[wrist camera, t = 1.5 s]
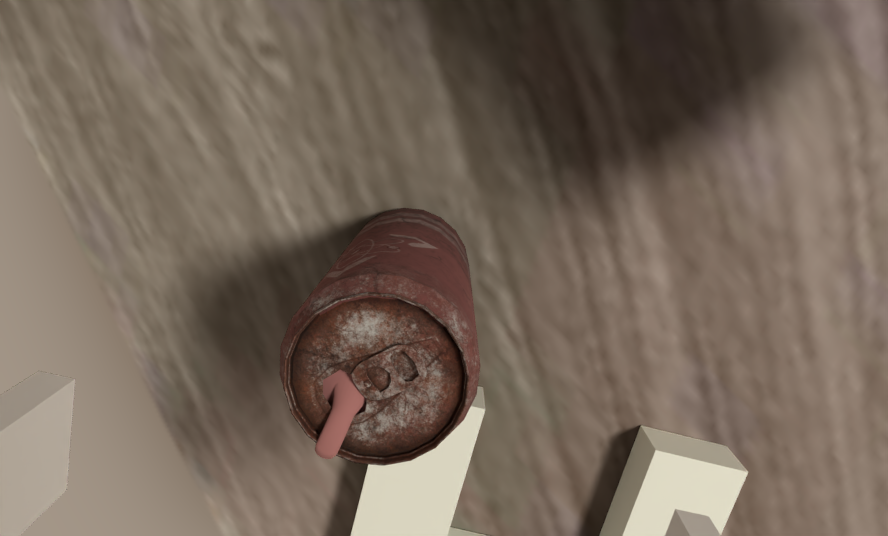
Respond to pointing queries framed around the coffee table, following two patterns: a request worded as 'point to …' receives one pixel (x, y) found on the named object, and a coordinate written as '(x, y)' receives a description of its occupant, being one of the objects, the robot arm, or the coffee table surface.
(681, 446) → the u-shaped block
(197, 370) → the coffee table surface
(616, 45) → the coffee table surface
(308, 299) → the can
